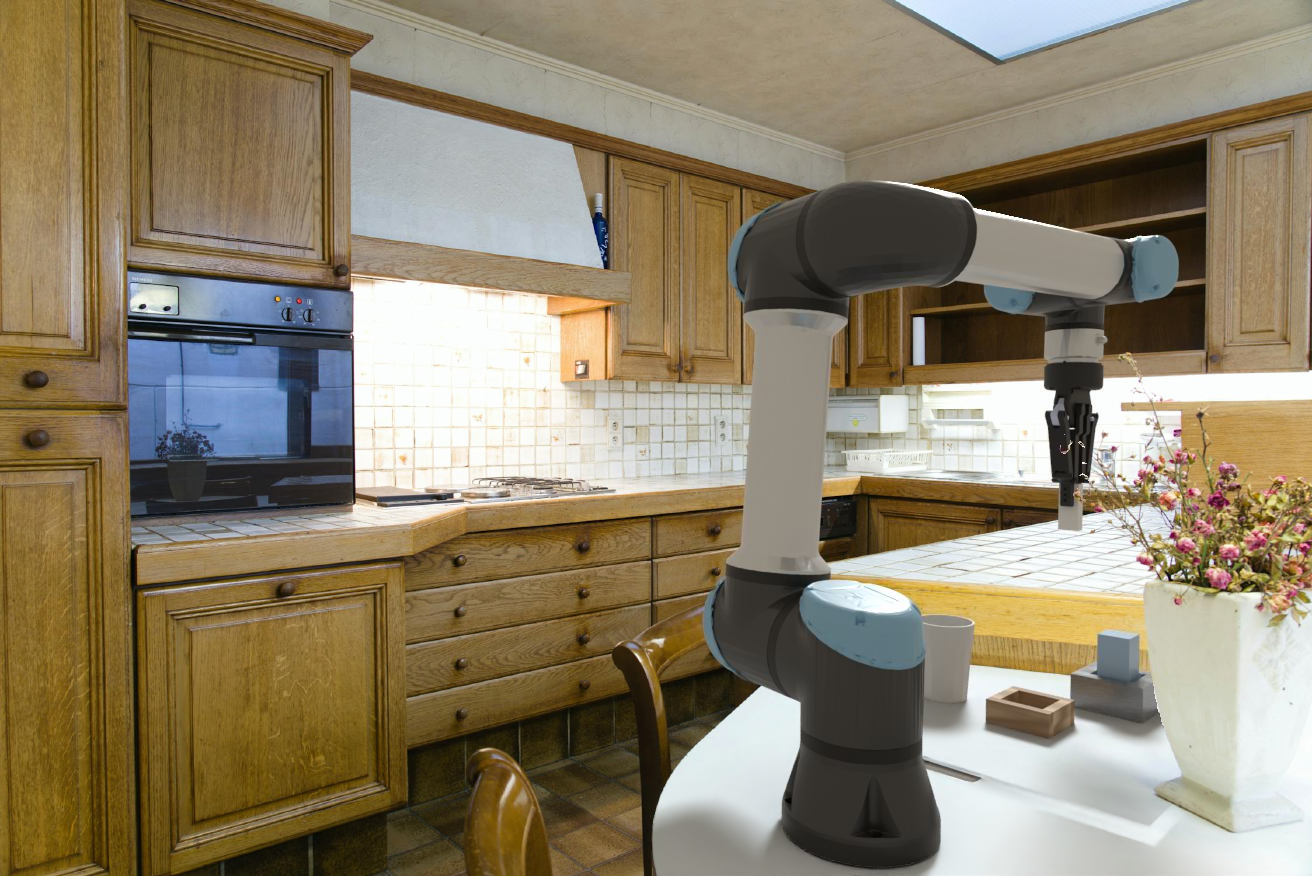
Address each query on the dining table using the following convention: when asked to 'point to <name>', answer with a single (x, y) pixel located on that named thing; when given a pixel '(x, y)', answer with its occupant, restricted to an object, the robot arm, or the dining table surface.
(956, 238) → the robot arm
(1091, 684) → the port
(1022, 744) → the dining table surface
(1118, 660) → the plug
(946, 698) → the cup
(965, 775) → the smartphone
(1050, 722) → the tan square frame
